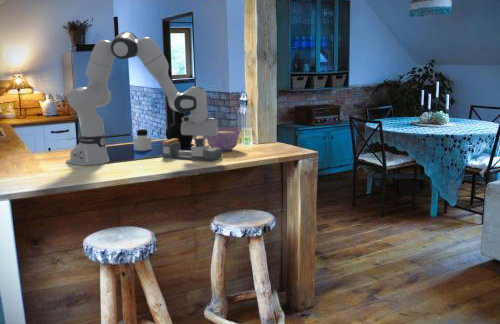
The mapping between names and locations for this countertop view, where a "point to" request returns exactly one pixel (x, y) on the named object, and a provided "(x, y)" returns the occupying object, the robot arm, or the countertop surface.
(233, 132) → the bowl of food
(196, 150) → the carriage
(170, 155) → the rail
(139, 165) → the countertop surface
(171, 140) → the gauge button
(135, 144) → the medicine bottle
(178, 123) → the bottle
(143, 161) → the countertop surface
